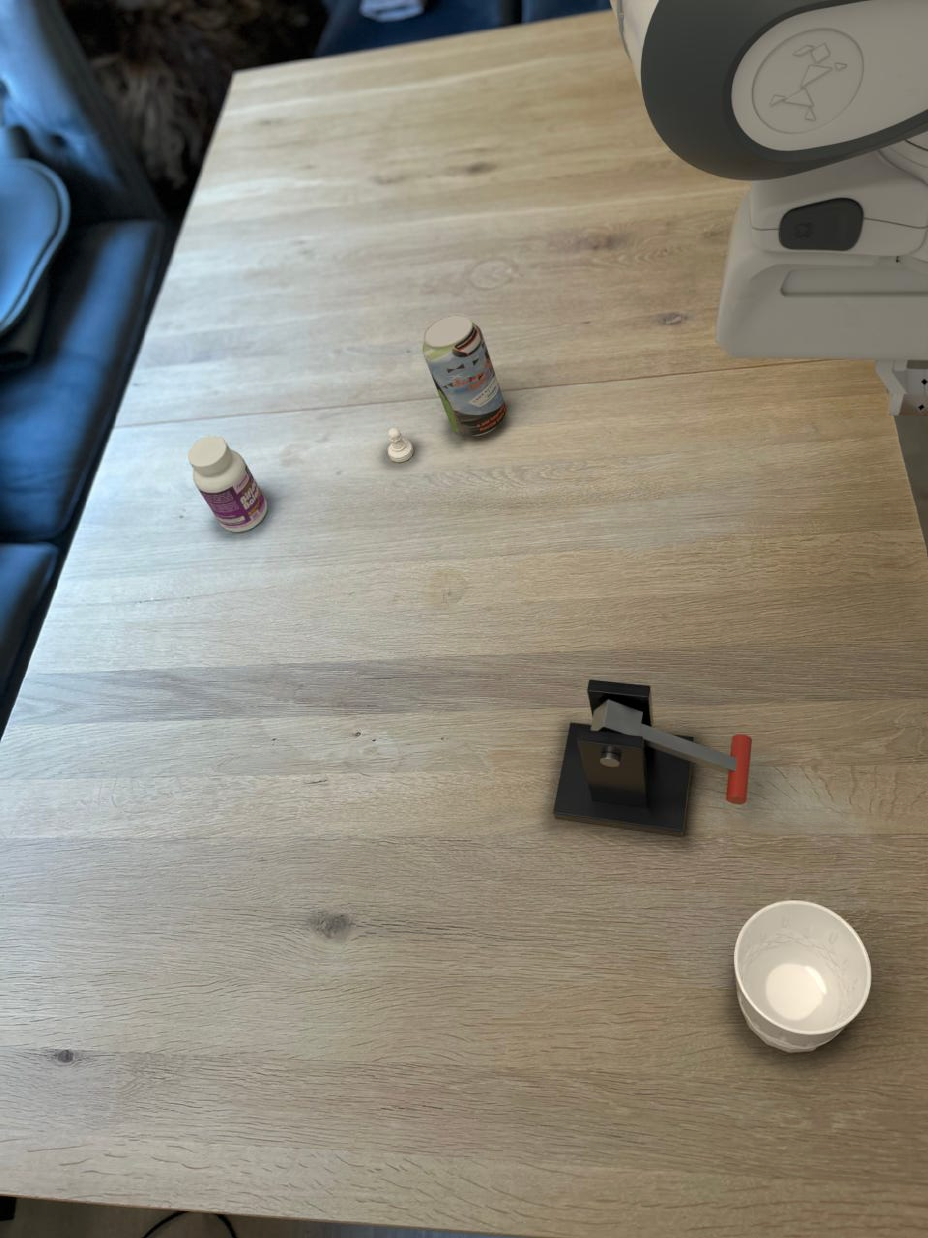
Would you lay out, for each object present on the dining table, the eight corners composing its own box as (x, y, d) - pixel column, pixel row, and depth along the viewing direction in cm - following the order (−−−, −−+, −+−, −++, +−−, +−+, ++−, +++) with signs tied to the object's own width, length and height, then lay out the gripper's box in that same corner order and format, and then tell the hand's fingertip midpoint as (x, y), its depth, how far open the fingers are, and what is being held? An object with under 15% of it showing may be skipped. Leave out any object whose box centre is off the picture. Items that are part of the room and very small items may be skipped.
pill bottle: (267, 529, 101) (231, 466, 93) (218, 538, 102) (178, 476, 94) (270, 489, 104) (234, 425, 96) (222, 498, 105) (183, 435, 97)
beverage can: (482, 453, 101) (458, 365, 91) (431, 425, 105) (403, 337, 95) (522, 414, 103) (502, 324, 93) (470, 388, 107) (446, 298, 97)
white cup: (852, 1071, 65) (874, 1044, 57) (728, 1053, 67) (732, 1024, 59) (848, 950, 69) (868, 907, 61) (731, 936, 71) (736, 893, 63)
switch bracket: (694, 743, 80) (693, 670, 70) (682, 837, 76) (680, 775, 66) (571, 728, 83) (554, 657, 73) (554, 818, 79) (533, 756, 69)
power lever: (741, 746, 75) (759, 736, 73) (735, 808, 72) (754, 799, 70) (596, 693, 73) (610, 681, 71) (585, 755, 70) (600, 744, 68)
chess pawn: (410, 463, 102) (402, 439, 100) (387, 462, 103) (378, 439, 100) (416, 444, 104) (407, 420, 101) (392, 443, 104) (384, 420, 101)
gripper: (1279, 96, 38) (1144, 365, 49) (726, 125, 44) (720, 360, 55) (1312, 202, 35) (1160, 462, 46) (713, 218, 40) (709, 446, 52)
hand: (918, 407), depth 51 cm, fingers closed
